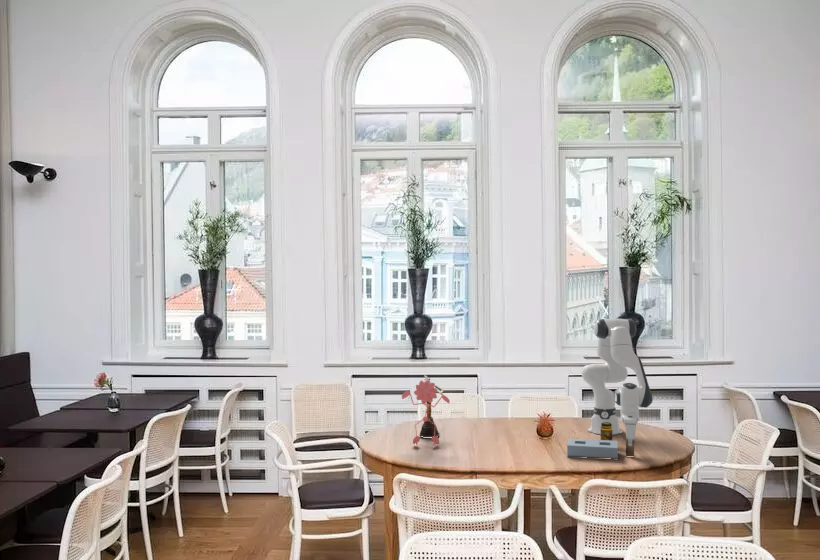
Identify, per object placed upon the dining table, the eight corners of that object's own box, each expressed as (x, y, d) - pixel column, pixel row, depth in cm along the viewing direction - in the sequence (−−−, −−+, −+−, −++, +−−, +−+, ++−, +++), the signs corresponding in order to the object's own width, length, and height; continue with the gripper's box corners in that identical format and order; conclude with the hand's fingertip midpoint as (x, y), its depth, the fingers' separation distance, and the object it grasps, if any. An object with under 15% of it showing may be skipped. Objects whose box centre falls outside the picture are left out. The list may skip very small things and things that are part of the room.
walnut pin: (625, 455, 355) (625, 427, 355) (634, 455, 354) (633, 427, 354) (626, 457, 351) (625, 429, 351) (634, 457, 350) (634, 429, 350)
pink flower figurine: (449, 449, 371) (448, 382, 370) (401, 448, 374) (399, 382, 373) (451, 441, 386) (451, 377, 385) (404, 441, 390) (403, 377, 389)
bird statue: (448, 433, 406) (447, 372, 405) (448, 438, 393) (447, 375, 392) (419, 433, 407) (418, 372, 406) (418, 438, 394) (417, 376, 393)
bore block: (568, 449, 366) (568, 438, 366) (617, 452, 360) (617, 440, 360) (567, 457, 353) (567, 445, 353) (617, 460, 347) (617, 448, 346)
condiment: (610, 448, 369) (610, 425, 368) (594, 446, 374) (594, 423, 373) (615, 445, 375) (615, 422, 375) (599, 442, 380) (599, 420, 379)
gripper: (622, 411, 363) (622, 438, 363) (623, 420, 343) (623, 449, 344) (635, 412, 361) (635, 439, 362) (637, 421, 342) (637, 449, 342)
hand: (629, 444), depth 353 cm, fingers closed on walnut pin, 4 cm apart
